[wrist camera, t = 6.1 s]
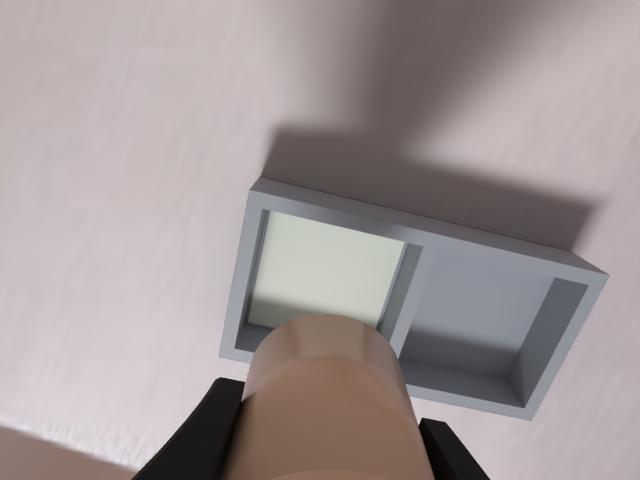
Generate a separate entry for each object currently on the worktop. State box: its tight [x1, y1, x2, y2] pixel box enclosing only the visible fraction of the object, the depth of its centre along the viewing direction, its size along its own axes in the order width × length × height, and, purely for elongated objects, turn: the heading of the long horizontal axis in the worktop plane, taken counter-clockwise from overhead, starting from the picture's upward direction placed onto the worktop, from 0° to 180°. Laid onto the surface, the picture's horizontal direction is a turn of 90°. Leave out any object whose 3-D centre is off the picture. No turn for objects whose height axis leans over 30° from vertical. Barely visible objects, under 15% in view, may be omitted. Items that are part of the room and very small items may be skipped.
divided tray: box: [219, 177, 610, 421], centre depth 18 cm, size 15×8×3 cm, turn 76°
